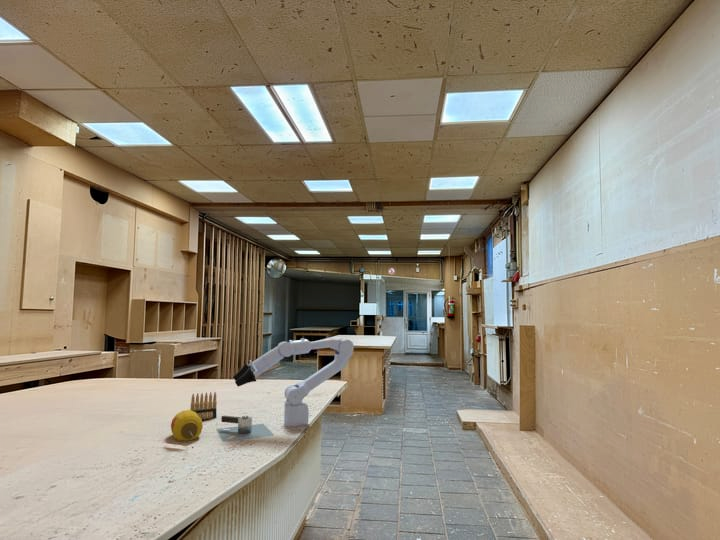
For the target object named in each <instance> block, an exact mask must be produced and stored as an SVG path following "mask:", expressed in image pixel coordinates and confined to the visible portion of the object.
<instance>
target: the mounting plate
mask: <svg viewBox="0 0 720 540" xmlns="http://www.w3.org/2000/svg"><path fill="white" fill-rule="evenodd" d="M216 431H217V433H218V435H219V437H220V439H221V441H222V443H225V442H233V441H241V440H250V439H256V438H257V439H258V438H265V437H273V436H275V434H274V433H273V432H272V431H271V430H270V429H269V428H268V427H267V426H266V425H265V424H264V423H257V424H252V431H251V432H248V433H239V432H238V426H230V427H219V428H216Z"/></svg>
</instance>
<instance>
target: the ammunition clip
mask: <svg viewBox="0 0 720 540" xmlns="http://www.w3.org/2000/svg"><path fill="white" fill-rule="evenodd" d="M199 394H200V395H199ZM208 396H209V397H208ZM189 410H191V411H194V412H196V414H197V415H198V416H199V417H200V418H201V420H202V423H204V422H206V421H209V420H212V419H217V392H216V391H214V393H212V391H210V393H209V395H208V392H207V391H206V392H205V395H204V394H203V392H201V393H199V392H198V393H196V396H195V394H194V393H192V395H191V400H190V409H189Z"/></svg>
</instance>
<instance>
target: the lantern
mask: <svg viewBox="0 0 720 540" xmlns="http://www.w3.org/2000/svg"><path fill="white" fill-rule="evenodd" d="M170 429H171V433H172V436H173V437H174V438H175V440H177V442H188V441H189V442H190V441H193V440H196V439H197V438H199V436H200V435H201V433H202V432H203V431H202V430H203V422H202V420H201V418H200V417H199V416H198V415H197V414H196V412H194V411H191V410H190V409H186V410H182V411H180V412H178V413H177V414H175V415H174V417H173V419H172V420H171V424H170Z"/></svg>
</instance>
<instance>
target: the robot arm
mask: <svg viewBox="0 0 720 540" xmlns="http://www.w3.org/2000/svg"><path fill="white" fill-rule="evenodd" d="M328 348H330V349H331V350H334V359H333V360H332V361H331V362H330V363H328V364H327V365H325V366H323V367H322V368H320V369H319V370H317V371H316V372H314V373H313V374H311V375H310V376H308V378H305V379H304V380H302V381H299V382H298V383H296V384H292V385H291V384H290V385H289V386H287V387H286V388H285V390H284V397H285V399H286V400H285V402H284V415H283V417H284V418H283V425H284V426H287V427H297V426H302V425H309V414H310V413H309V412H310V411H309V405H308V403H306V402H303V400H304V398H306V397H307V396H308V394H309V393H310V392H311V391H313V390H314V389H315V388H317V387H318V386H320V385H321V384H322V383H324V382H326V381H327V380H328V379H330V378H331V377H333V376H335V375H336V374H337V373H339V372H340V371H343V369H345V368H346V366H347V364H348V363H349V361H350V359H351V357H352V355H354V349H355V346H354V343H353V341H351V339H344V338H325V339H319V340H315V341H310V340H309V339H306V338H304V337H303V338H300V339H299V340H297V339H296V340H292V339H289V340H288V341H281V342H279V343H278V344H277V346H275V347H274V348H271V349H270V350H269V351H267V352H265V353H264V354H263V355H261V356H259V357H258V358H256V359H255V360H253V361H252V360H251V359H250V360H249V364H247V363H246V362H244V364H243V366H242V367H241V368H240V370H239V371H237V372H236V373H235V374H234V375H233V377H232V378H233V380H234V382H235V384H236V386H237V387H241V386H244V385H246V384H249V383H254V382H257V379H256V378H257V377H259V376H261V374H262V373H264V372H265V371H267V370H269V368H271V367H273V366H275V365H276V364H277V363H278V362H280V361H281V360H283V359H284V358H286V357H287V358H288V357H289V358H290V357H291V356H295V355H304V354H309V353H310V351H311V350H319V349H328Z"/></svg>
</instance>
